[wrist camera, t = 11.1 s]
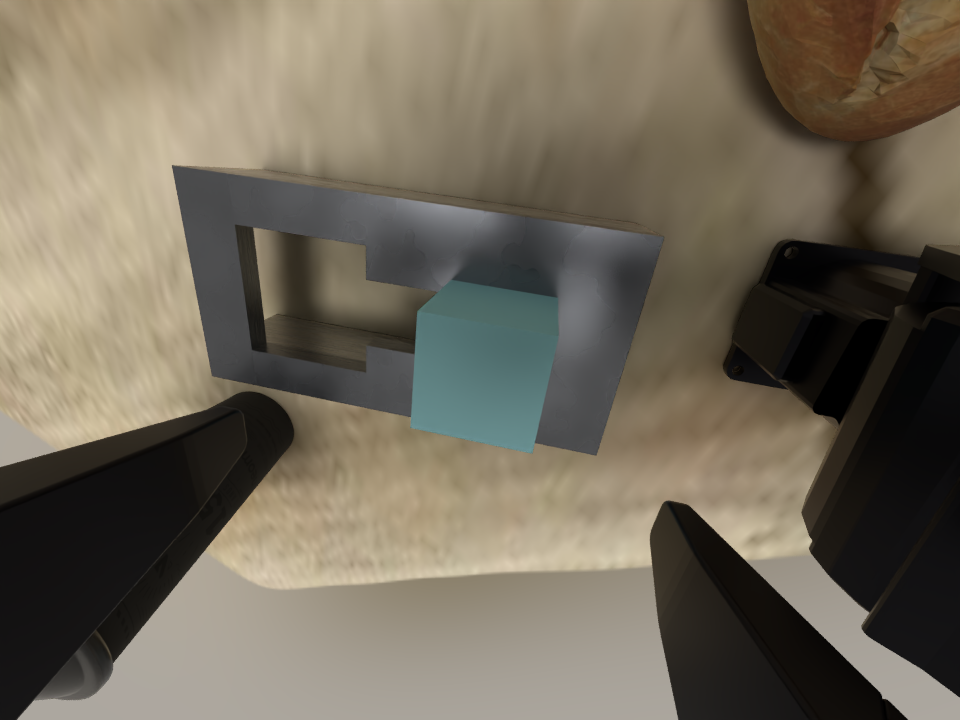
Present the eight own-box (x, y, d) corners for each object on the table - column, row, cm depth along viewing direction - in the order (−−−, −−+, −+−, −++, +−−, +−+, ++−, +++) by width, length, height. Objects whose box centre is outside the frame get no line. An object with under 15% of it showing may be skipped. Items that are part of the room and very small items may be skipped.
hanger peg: (563, 273, 17) (567, 330, 11) (543, 361, 19) (537, 459, 12) (466, 257, 18) (410, 303, 11) (456, 345, 20) (404, 431, 13)
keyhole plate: (636, 222, 17) (664, 237, 13) (587, 397, 21) (596, 455, 17) (261, 169, 19) (171, 165, 15) (279, 338, 23) (212, 376, 19)
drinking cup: (241, 475, 28) (-295, 974, 11) (186, 382, 26) (-662, 840, 8) (332, 464, 27) (-139, 1056, 9) (282, 362, 24) (-560, 915, 6)
